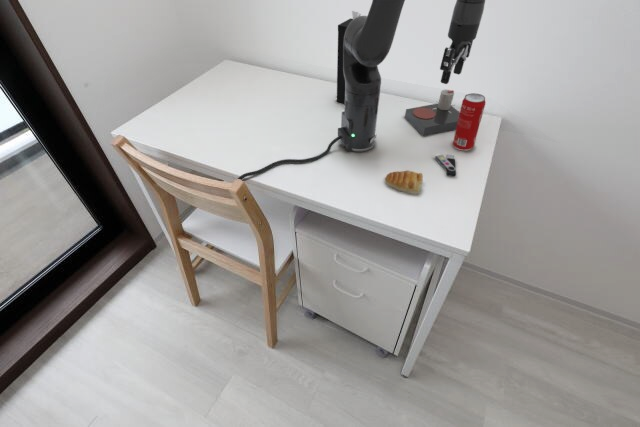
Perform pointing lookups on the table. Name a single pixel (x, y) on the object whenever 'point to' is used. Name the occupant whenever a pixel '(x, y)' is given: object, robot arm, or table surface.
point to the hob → (434, 120)
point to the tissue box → (340, 73)
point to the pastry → (405, 181)
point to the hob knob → (445, 99)
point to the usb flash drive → (447, 164)
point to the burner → (424, 113)
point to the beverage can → (469, 121)
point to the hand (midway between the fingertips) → (450, 78)
